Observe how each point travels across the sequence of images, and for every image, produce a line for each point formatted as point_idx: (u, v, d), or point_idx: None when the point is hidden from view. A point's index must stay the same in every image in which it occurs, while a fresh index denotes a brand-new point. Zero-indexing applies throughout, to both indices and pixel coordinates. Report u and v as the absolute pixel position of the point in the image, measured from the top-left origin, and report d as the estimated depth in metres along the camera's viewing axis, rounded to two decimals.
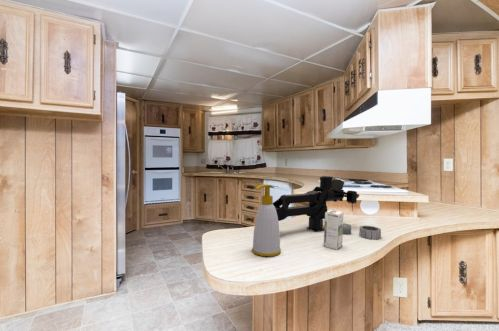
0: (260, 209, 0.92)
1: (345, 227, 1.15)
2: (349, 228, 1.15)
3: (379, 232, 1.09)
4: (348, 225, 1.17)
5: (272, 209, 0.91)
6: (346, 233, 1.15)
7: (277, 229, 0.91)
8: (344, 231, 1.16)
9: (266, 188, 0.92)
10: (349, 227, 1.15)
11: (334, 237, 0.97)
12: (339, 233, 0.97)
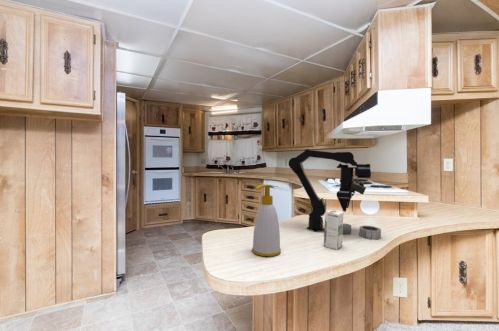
0: (260, 209, 0.92)
1: (345, 227, 1.15)
2: (349, 228, 1.15)
3: (379, 232, 1.09)
4: (348, 225, 1.17)
5: (272, 209, 0.91)
6: (346, 233, 1.15)
7: (277, 229, 0.91)
8: (344, 231, 1.16)
9: (266, 188, 0.92)
10: (349, 227, 1.15)
11: (334, 237, 0.97)
12: (339, 233, 0.97)
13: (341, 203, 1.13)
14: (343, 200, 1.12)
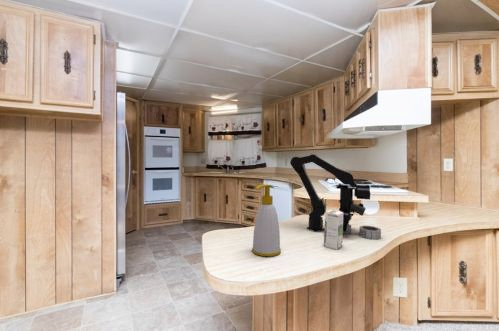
0: (260, 209, 0.92)
1: None
2: (349, 228, 1.15)
3: (379, 232, 1.09)
4: (348, 225, 1.17)
5: (272, 209, 0.91)
6: (346, 233, 1.15)
7: (277, 229, 0.91)
8: (344, 231, 1.16)
9: (266, 188, 0.92)
10: (349, 227, 1.15)
11: (334, 237, 0.97)
12: (339, 233, 0.97)
13: None
14: (343, 220, 1.14)
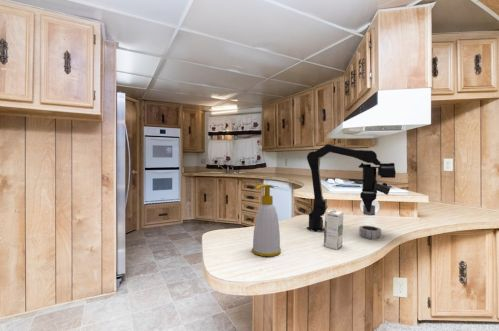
0: (260, 209, 0.92)
1: None
2: (373, 208, 1.10)
3: (379, 232, 1.09)
4: (372, 205, 1.12)
5: (272, 209, 0.91)
6: (370, 214, 1.10)
7: (277, 229, 0.91)
8: None
9: (266, 188, 0.92)
10: (373, 207, 1.10)
11: (334, 237, 0.97)
12: (339, 233, 0.97)
13: (365, 203, 1.10)
14: (367, 200, 1.09)
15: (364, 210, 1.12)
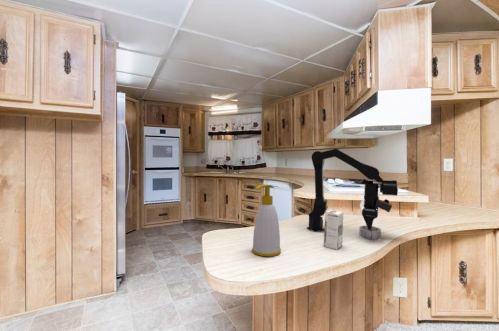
0: (260, 209, 0.92)
1: None
2: None
3: (379, 232, 1.09)
4: (373, 228, 1.12)
5: (272, 209, 0.91)
6: None
7: (277, 229, 0.91)
8: None
9: (266, 188, 0.92)
10: (374, 230, 1.10)
11: (334, 237, 0.97)
12: (339, 233, 0.97)
13: (366, 221, 1.08)
14: (368, 218, 1.08)
15: None
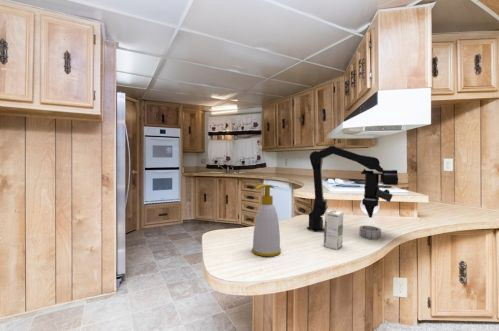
0: (260, 209, 0.92)
1: None
2: None
3: (379, 232, 1.09)
4: (373, 228, 1.12)
5: (272, 209, 0.91)
6: None
7: (277, 229, 0.91)
8: None
9: (266, 188, 0.92)
10: (374, 230, 1.11)
11: (334, 237, 0.97)
12: (339, 233, 0.97)
13: (367, 209, 1.12)
14: (369, 206, 1.11)
15: None
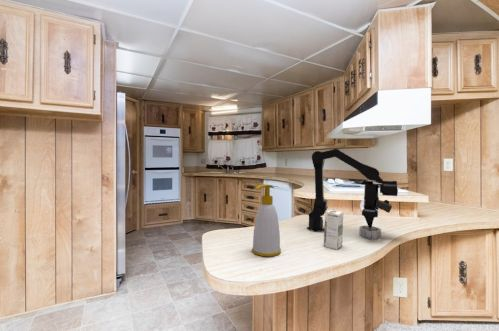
0: (260, 209, 0.92)
1: None
2: None
3: (379, 232, 1.09)
4: (373, 228, 1.12)
5: (272, 209, 0.91)
6: None
7: (277, 229, 0.91)
8: None
9: (266, 188, 0.92)
10: (374, 230, 1.11)
11: (334, 237, 0.97)
12: (339, 233, 0.97)
13: (367, 219, 1.12)
14: (369, 216, 1.12)
15: None
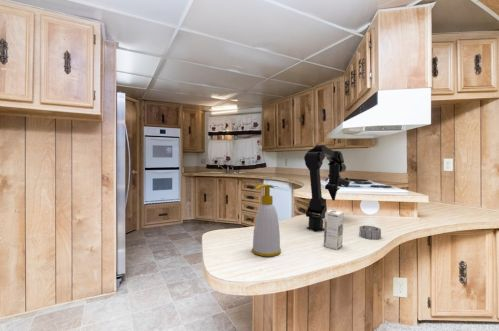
0: (260, 209, 0.92)
1: None
2: None
3: (379, 232, 1.09)
4: (373, 228, 1.12)
5: (272, 209, 0.91)
6: None
7: (277, 229, 0.91)
8: None
9: (266, 188, 0.92)
10: (374, 230, 1.11)
11: (334, 237, 0.97)
12: (339, 233, 0.97)
13: (330, 193, 1.38)
14: (332, 191, 1.37)
15: None
